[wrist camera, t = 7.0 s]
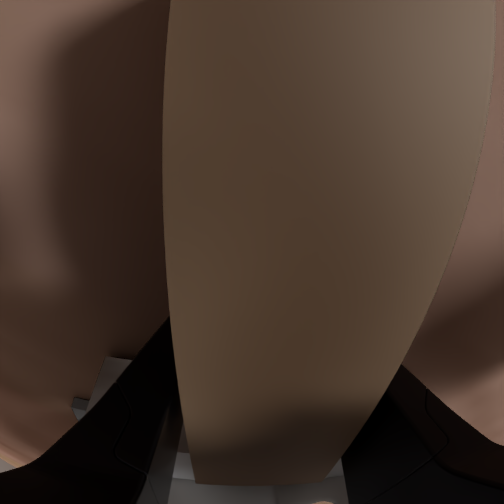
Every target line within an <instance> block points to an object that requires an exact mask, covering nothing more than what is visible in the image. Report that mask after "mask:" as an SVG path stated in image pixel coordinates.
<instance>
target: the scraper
mask: <svg viewBox="0 0 504 504" xmlns="http://www.w3.org/2000/svg"><path fill="white" fill-rule="evenodd" d="M495 33H496V6H495V0H171V3H170V12H169V22H168V33H167V45H166V59H165V75H164V97H163V132H162V183H163V220H164V242H165V260H166V274H167V288H168V300H169V311H170V321H171V331H172V340H173V349H174V357H175V365H176V373H177V380H178V387H179V394H180V401H181V407H182V414H183V420H184V421H183V426H182V431H181V436H180V441H179V446H178V451H177V456H176V461H175V466H174V472H173V477H172V478H180V479H190V480H195V483H196V484H207V485H227V486H274V485H294V484H307V483H318V482H322V481H323V480H324V479H325V478H331V477H338V476H344V473H343V468H342V462H341V457H342V455H343V454H344V453H345V451H346V450H347V448H348V447H349V446H350V444H351V443H352V441H353V440H354V439H355V437H356V436H357V434H358V433H359V431H360V430H361V429H362V427H363V426H364V424H365V423H366V421H367V420H368V418H369V416H370V415H371V413H372V412H373V410H374V409H375V407H376V406H377V404H378V402H379V401H380V399H381V397H382V396H383V394H384V393H385V391H386V389H387V387H388V386H389V384H390V382H391V381H392V379H393V377H394V375H395V374H396V372H397V370H398V368H399V367H400V365H401V363H402V361H403V359H404V357H405V355H406V354H407V352H408V350H409V348H410V346H411V344H412V342H413V340H414V338H415V336H416V334H417V332H418V330H419V328H420V326H421V324H422V322H423V320H424V317H425V315H426V313H427V311H428V309H429V307H430V304H431V302H432V300H433V298H434V295H435V293H436V291H437V288H438V286H439V283H440V281H441V279H442V276H443V274H444V271H445V269H446V266H447V263H448V261H449V258H450V255H451V253H452V250H453V247H454V244H455V242H456V239H457V236H458V233H459V230H460V227H461V224H462V221H463V217H464V214H465V211H466V208H467V204H468V201H469V197H470V194H471V190H472V186H473V183H474V179H475V175H476V171H477V167H478V162H479V158H480V154H481V149H482V144H483V139H484V134H485V129H486V123H487V117H488V111H489V104H490V97H491V88H492V79H493V69H494V55H495ZM131 361H132V360H127V359H120V358H113V357H105V359H104V362H103V364H102V367H101V370H100V373H99V375H98V378H97V381H96V384H95V386H94V389H93V392H92V395H91V398H90V401H89V404H88V407H87V410H86V413H87V412H88V411H89V410H90V409H91V408H92V407H93V406H94V405H95V404H96V403H97V402H98V401H99V399H100V398H101V397H102V396H103V395H104V394H105V393H106V391H107V390H108V389H109V388H110V386H111V385H112V384H113V383H114V382H115V383H116V379H117V378H118V377H119V376H120V375H121V373H122V372H123V371H124V370H125V368H126V367H127V366H128V365H129V364H130V362H131ZM86 413H85V414H86Z"/></svg>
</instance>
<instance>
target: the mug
mask: <svg viewBox="0 0 504 504" xmlns="http://www.w3.org/2000/svg"><path fill="white" fill-rule="evenodd" d="M320 501H327V502H332V503H334V504H349V502H348V496H347V491H346V485H345V479H344V476H338V477H331V478H325V479H324V480H323V481H322V482H318V483H307V484H294V485H274V486H227V485H207V484H196V483H195V480H190V479H180V478H172V482H171V488H170V493H169V498H168V504H312V503H316V502H320Z"/></svg>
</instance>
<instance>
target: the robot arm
mask: <svg viewBox="0 0 504 504" xmlns="http://www.w3.org/2000/svg"><path fill="white" fill-rule="evenodd" d="M183 421H184V420H183V414H182V407H181V401H180V394H179V387H178V380H177V373H176V365H175V357H174V349H173V340H172V331H171V321H170V316H169V317H168V318H167V319H166V321H165V322H164V323H163V324H162V325H161V326H160V328H159V329H158V330H157V331H156V332H155V334H154V335H153V336H152V337H151V338H150V340H149V341H148V342H147V343H146V344H145V346H144V347H143V348H142V349H141V350H140V352H139V353H138V354H137V355H136V356H135V358H134V359H133V360H132V361H131V362H130V364H129V365H128V366H127V367H126V368H125V370H124V371H123V372H122V373H121V375H120V376H119V377H118V378H117V379H116V383H115V382H114V383H113V384H112V385H111V386H110V388H109V389H108V390H107V391H106V393H105V394H104V395H103V396H102V397H101V398H100V399H99V401H98V402H97V403H96V404H95V405H94V406H93V407H92V408H91V409H90V410H89V411H88V412H87V413H86V414H85V415H84V416H83V417H82V418H81V419H80V420H79V421H78V422H77V423H76V424H75V425H74V426H73V427H72V428H71V429H70V430H69V431H68V432H66V433H65V434H64V435H63V436H62V437H61V438H60V439H59V440H58V441H57V442H56V443H55V444H54V445H52V446H51V447H50V448H49V449H48V450H47V451H46V452H45V453H44V454H43V455H41V456H40V457H39V458H37V459H36V460H34V461H32V462H31V463H29V464H27V465H25V466H22V467H19V468H16V469H12V470H9V471H5V472H2V473H0V504H168V498H169V493H170V488H171V482H172V477H173V472H174V466H175V461H176V456H177V451H178V446H179V441H180V436H181V431H182V426H183ZM341 462H342V468H343V473H344V479H345V485H346V491H347V496H348V502H349V504H504V446H502V445H499V444H496V443H494V442H492V441H491V440H489V439H488V438H486V437H485V436H484V435H482V434H481V433H480V432H479V431H477V430H476V429H475V428H474V427H472V426H471V425H470V424H469V423H467V422H466V421H465V420H463V419H462V418H461V417H460V416H458V415H457V414H456V413H455V412H454V411H452V410H451V409H450V408H449V407H448V406H446V405H445V404H444V403H443V402H442V401H441V400H440V399H439V398H438V397H436V396H435V395H434V394H433V393H432V392H431V391H430V390H429V389H426V386H425V385H424V384H422V383H421V382H420V381H419V380H418V379H417V378H416V377H415V376H414V375H413V374H412V373H411V372H410V371H408V370H407V369H406V368H405V367H404V366H403V365H402V364H401V365H400V367H399V368H398V370H397V372H396V374H395V375H394V377H393V379H392V381H391V382H390V384H389V386H388V387H387V389H386V391H385V393H384V394H383V396H382V397H381V399H380V401H379V402H378V404H377V406H376V407H375V409H374V410H373V412H372V413H371V415H370V416H369V418H368V420H367V421H366V423H365V424H364V426H363V427H362V429H361V430H360V431H359V433H358V434H357V436H356V437H355V439H354V440H353V441H352V443H351V444H350V446H349V447H348V448H347V450H346V451H345V453H344V454H343V455H342V457H341Z"/></svg>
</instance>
